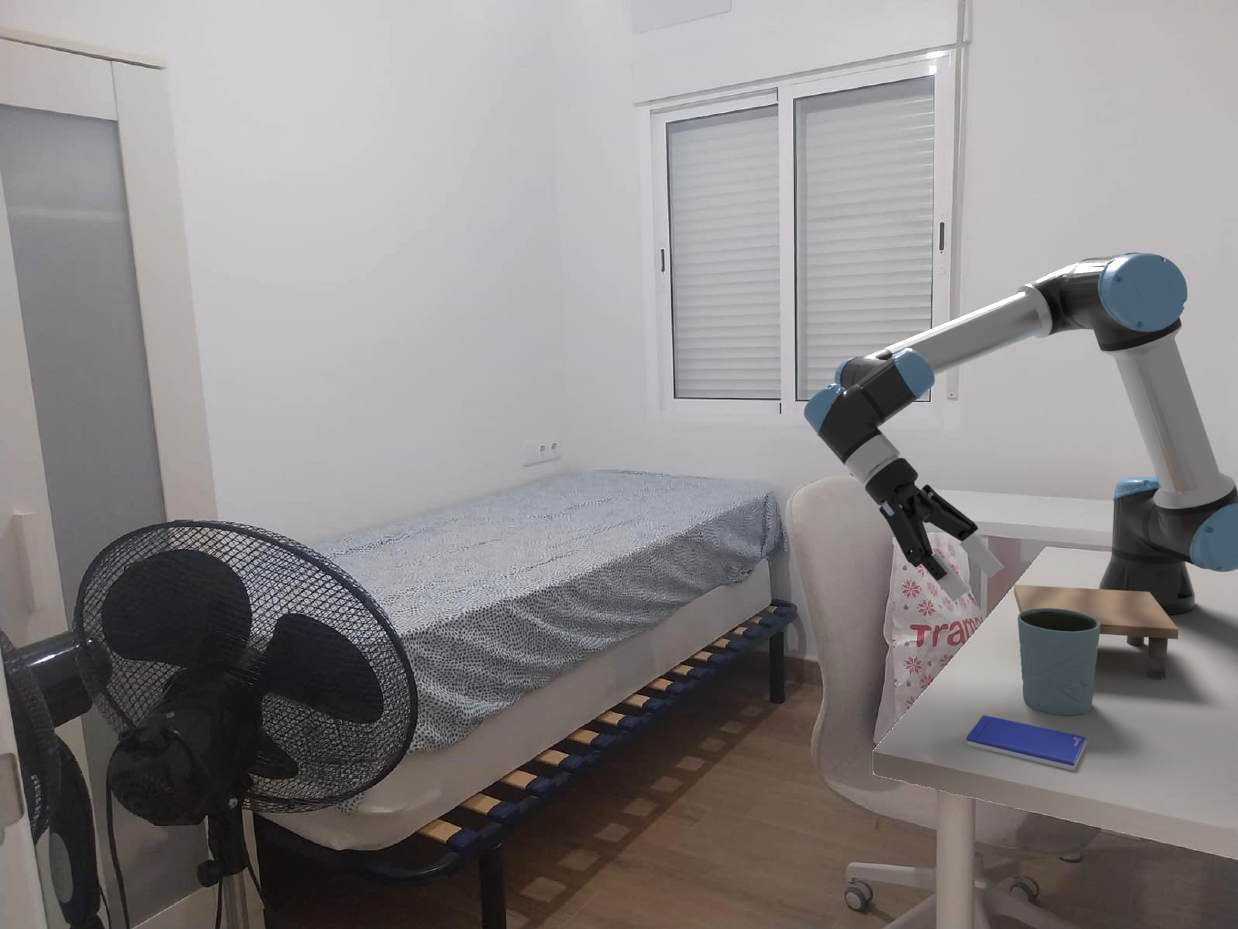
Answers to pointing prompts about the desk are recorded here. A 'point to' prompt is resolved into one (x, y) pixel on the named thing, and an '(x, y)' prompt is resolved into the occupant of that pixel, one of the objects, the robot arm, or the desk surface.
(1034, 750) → the hard drive
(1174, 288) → the robot arm
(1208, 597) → the desk surface
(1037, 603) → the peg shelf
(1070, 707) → the teal plant pot
